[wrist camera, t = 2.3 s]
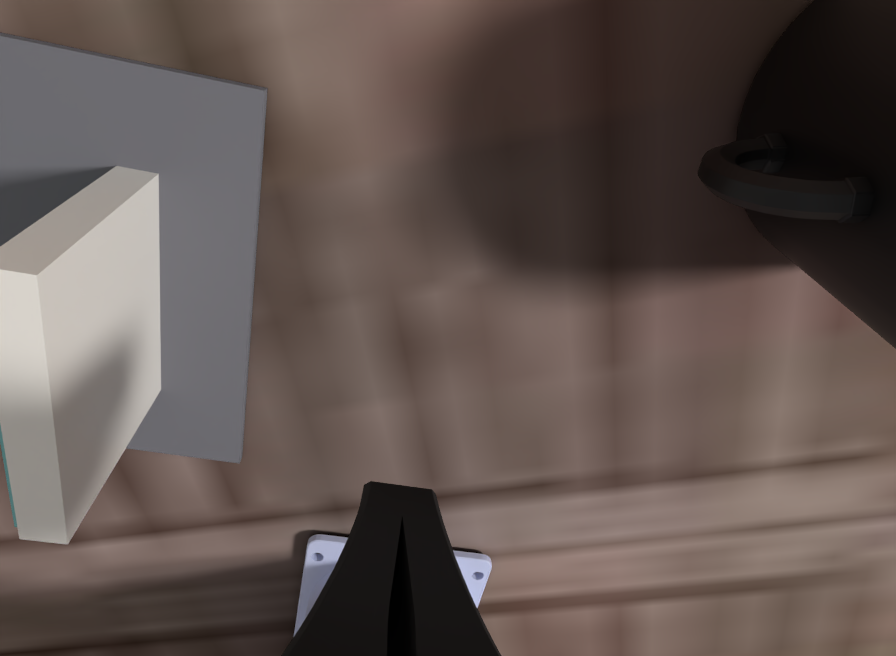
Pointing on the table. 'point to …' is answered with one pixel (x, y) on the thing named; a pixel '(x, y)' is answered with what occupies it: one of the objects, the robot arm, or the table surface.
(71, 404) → the tile
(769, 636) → the table surface
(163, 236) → the mat
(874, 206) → the mug
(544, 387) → the table surface
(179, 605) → the table surface
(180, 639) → the table surface
